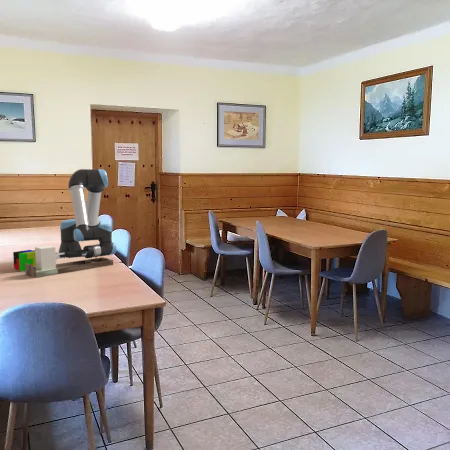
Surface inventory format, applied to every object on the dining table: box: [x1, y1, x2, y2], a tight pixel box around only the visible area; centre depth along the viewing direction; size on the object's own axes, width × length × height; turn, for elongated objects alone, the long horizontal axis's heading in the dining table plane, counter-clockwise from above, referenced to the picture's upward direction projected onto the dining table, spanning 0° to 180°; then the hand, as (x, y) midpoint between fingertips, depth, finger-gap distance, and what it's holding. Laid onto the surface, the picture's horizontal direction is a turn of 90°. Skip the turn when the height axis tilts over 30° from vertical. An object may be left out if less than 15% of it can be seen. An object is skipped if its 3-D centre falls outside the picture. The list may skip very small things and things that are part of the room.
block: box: [34, 244, 57, 270], centre depth 255 cm, size 8×8×12 cm
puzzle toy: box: [12, 249, 36, 272], centre depth 267 cm, size 10×10×10 cm
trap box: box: [25, 256, 114, 279], centre depth 266 cm, size 12×48×6 cm, turn 135°
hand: (53, 256), depth 257 cm, fingers closed
